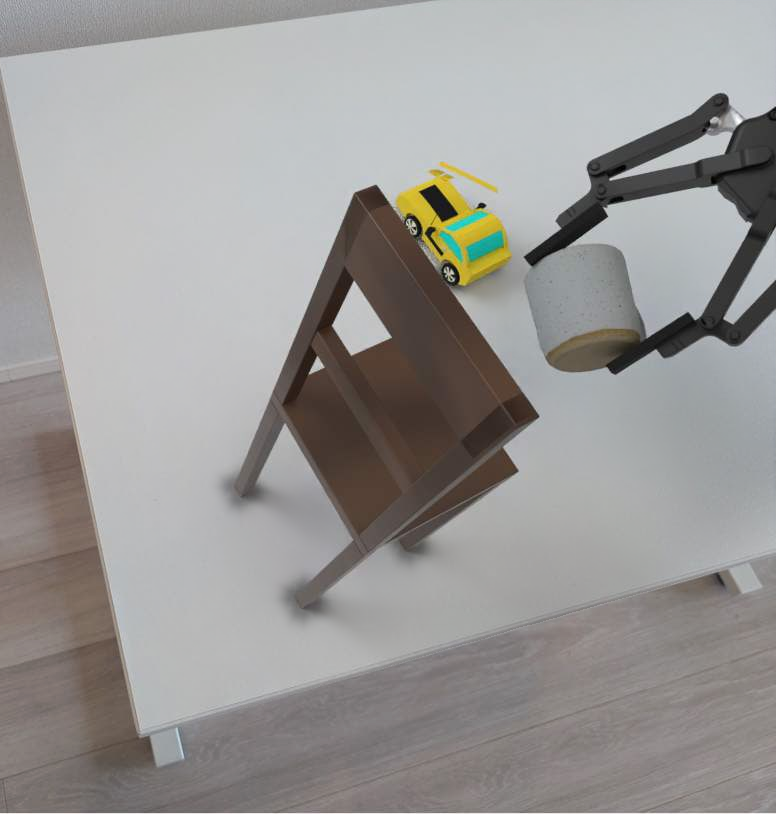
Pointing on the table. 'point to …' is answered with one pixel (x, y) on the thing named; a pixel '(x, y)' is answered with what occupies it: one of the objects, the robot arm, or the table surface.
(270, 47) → the table surface
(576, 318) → the ceramic mug
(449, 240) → the toy car
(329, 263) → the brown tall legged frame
